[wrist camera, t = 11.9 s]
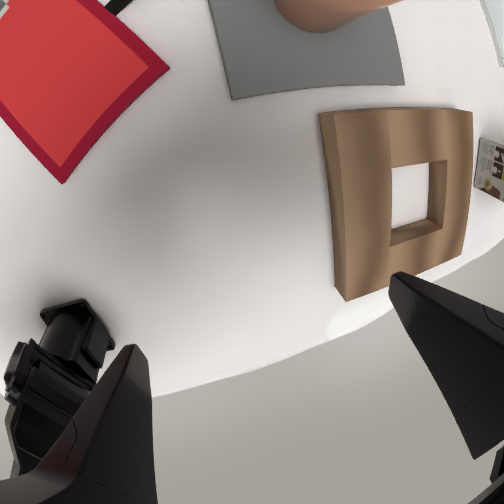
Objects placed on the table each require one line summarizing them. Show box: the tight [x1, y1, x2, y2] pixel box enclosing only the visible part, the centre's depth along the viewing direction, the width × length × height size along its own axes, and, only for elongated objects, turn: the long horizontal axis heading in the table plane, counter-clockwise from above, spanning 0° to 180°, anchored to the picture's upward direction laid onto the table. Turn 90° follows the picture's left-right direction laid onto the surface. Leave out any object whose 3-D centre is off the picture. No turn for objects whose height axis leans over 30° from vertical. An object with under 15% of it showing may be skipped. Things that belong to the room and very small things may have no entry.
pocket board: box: [319, 107, 473, 302], centre depth 21 cm, size 16×16×2 cm
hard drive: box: [479, 0, 504, 67], centre depth 13 cm, size 2×8×12 cm
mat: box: [208, 0, 405, 100], centre depth 13 cm, size 14×14×1 cm
